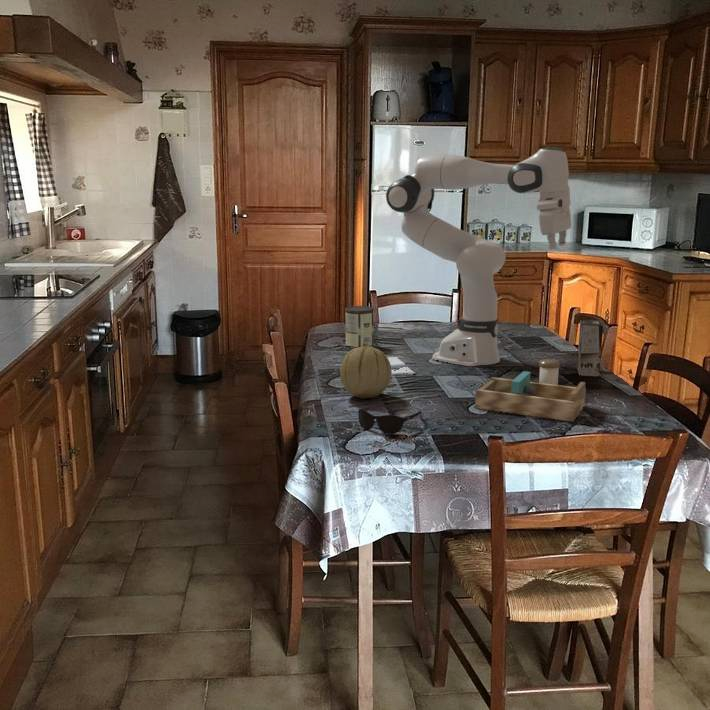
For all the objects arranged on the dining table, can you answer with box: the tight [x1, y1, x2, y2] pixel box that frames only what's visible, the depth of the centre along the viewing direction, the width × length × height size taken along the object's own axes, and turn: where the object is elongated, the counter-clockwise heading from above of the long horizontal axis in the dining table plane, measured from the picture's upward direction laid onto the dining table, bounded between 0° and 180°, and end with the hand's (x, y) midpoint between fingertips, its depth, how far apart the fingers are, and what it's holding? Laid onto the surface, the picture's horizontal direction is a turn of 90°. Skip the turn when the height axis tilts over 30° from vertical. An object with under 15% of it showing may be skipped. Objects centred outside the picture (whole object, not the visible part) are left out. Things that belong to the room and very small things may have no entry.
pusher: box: [511, 370, 536, 396], centre depth 212 cm, size 5×12×7 cm, turn 153°
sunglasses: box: [358, 403, 423, 435], centre depth 199 cm, size 14×16×5 cm
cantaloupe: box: [339, 343, 393, 399], centre depth 220 cm, size 15×15×15 cm
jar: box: [538, 358, 561, 385], centre depth 225 cm, size 6×6×9 cm
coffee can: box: [344, 305, 375, 347], centre depth 282 cm, size 10×10×14 cm
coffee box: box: [576, 319, 604, 377], centre depth 245 cm, size 9×6×16 cm
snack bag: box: [386, 356, 417, 374], centre depth 252 cm, size 19×20×2 cm
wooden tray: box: [474, 376, 587, 422], centre depth 211 cm, size 26×15×7 cm, turn 63°
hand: (557, 246), depth 242 cm, fingers open, 8 cm apart
